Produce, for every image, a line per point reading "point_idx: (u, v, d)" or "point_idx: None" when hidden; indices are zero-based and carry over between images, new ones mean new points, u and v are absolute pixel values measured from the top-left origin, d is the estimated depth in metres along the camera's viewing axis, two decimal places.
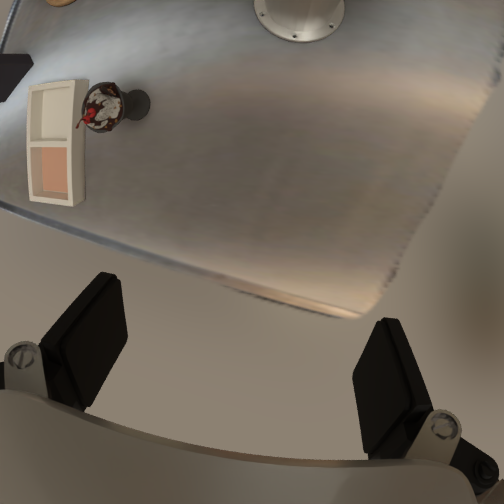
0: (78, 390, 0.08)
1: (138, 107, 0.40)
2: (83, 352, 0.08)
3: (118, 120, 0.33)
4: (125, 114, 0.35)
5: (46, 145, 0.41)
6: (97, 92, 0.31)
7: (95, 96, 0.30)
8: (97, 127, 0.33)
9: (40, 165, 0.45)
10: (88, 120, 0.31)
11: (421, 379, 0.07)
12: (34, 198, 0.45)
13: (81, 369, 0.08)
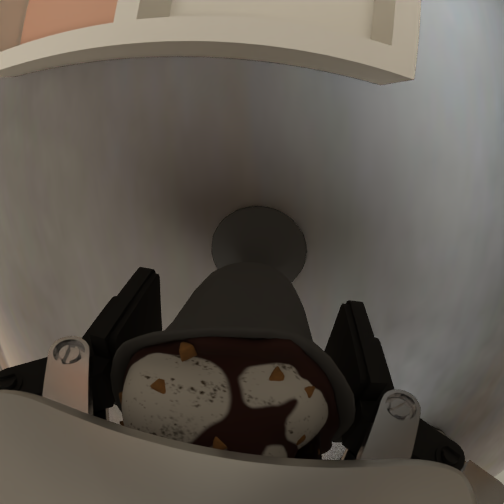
0: None
1: None
2: None
3: None
4: None
5: None
6: (305, 441, 0.06)
7: None
8: None
9: None
10: None
11: (379, 358, 0.08)
12: None
13: None
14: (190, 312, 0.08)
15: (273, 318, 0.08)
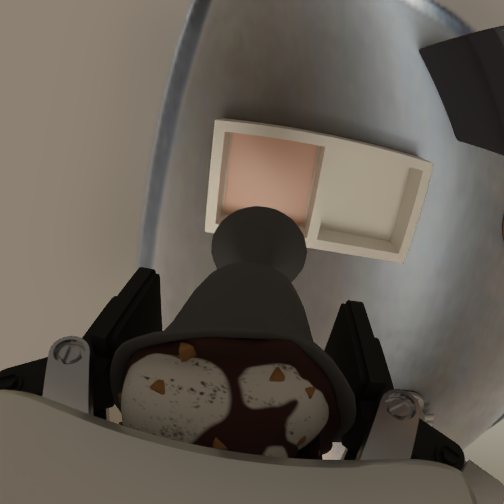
0: None
1: None
2: None
3: None
4: None
5: (319, 192, 0.28)
6: (306, 442, 0.06)
7: None
8: None
9: None
10: None
11: (378, 358, 0.08)
12: (219, 135, 0.26)
13: None
14: (190, 312, 0.08)
15: (274, 318, 0.08)
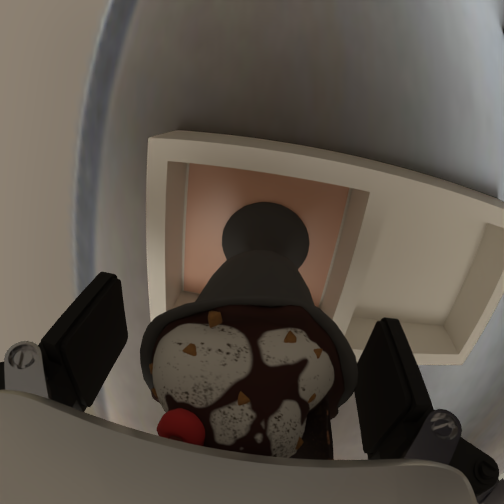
0: (78, 390, 0.08)
1: None
2: (83, 352, 0.08)
3: None
4: None
5: (352, 276, 0.15)
6: (315, 401, 0.08)
7: (292, 453, 0.07)
8: None
9: None
10: None
11: (421, 379, 0.07)
12: (157, 167, 0.13)
13: (81, 369, 0.08)
14: (212, 291, 0.09)
15: (284, 293, 0.09)
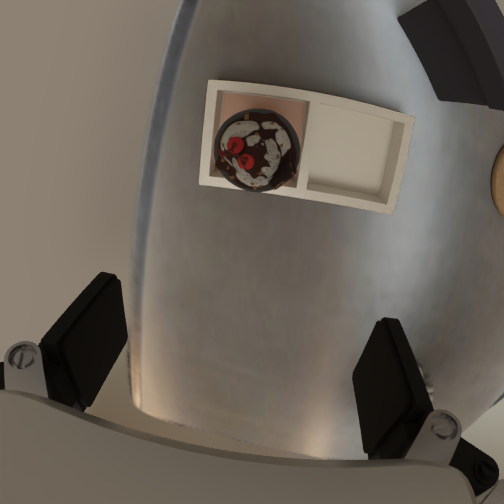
0: (78, 390, 0.08)
1: None
2: (83, 352, 0.08)
3: (232, 178, 0.24)
4: None
5: (306, 143, 0.29)
6: (283, 149, 0.22)
7: (275, 160, 0.21)
8: (222, 149, 0.22)
9: (269, 95, 0.29)
10: (233, 150, 0.21)
11: (421, 379, 0.07)
12: (212, 93, 0.27)
13: (81, 369, 0.08)
14: None
15: None
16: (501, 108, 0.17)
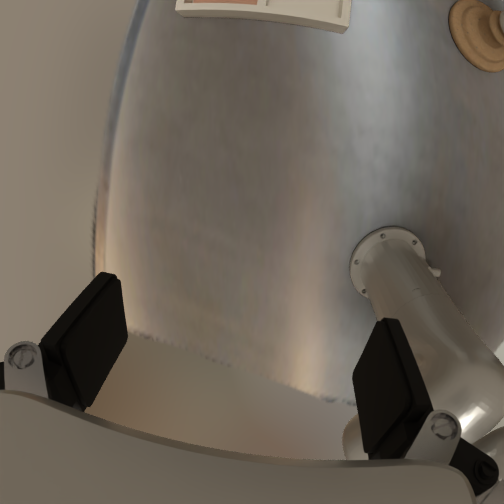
0: (78, 390, 0.08)
1: None
2: (83, 352, 0.08)
3: None
4: None
5: None
6: None
7: None
8: None
9: None
10: None
11: (421, 379, 0.07)
12: None
13: (81, 369, 0.08)
14: None
15: None
16: None
